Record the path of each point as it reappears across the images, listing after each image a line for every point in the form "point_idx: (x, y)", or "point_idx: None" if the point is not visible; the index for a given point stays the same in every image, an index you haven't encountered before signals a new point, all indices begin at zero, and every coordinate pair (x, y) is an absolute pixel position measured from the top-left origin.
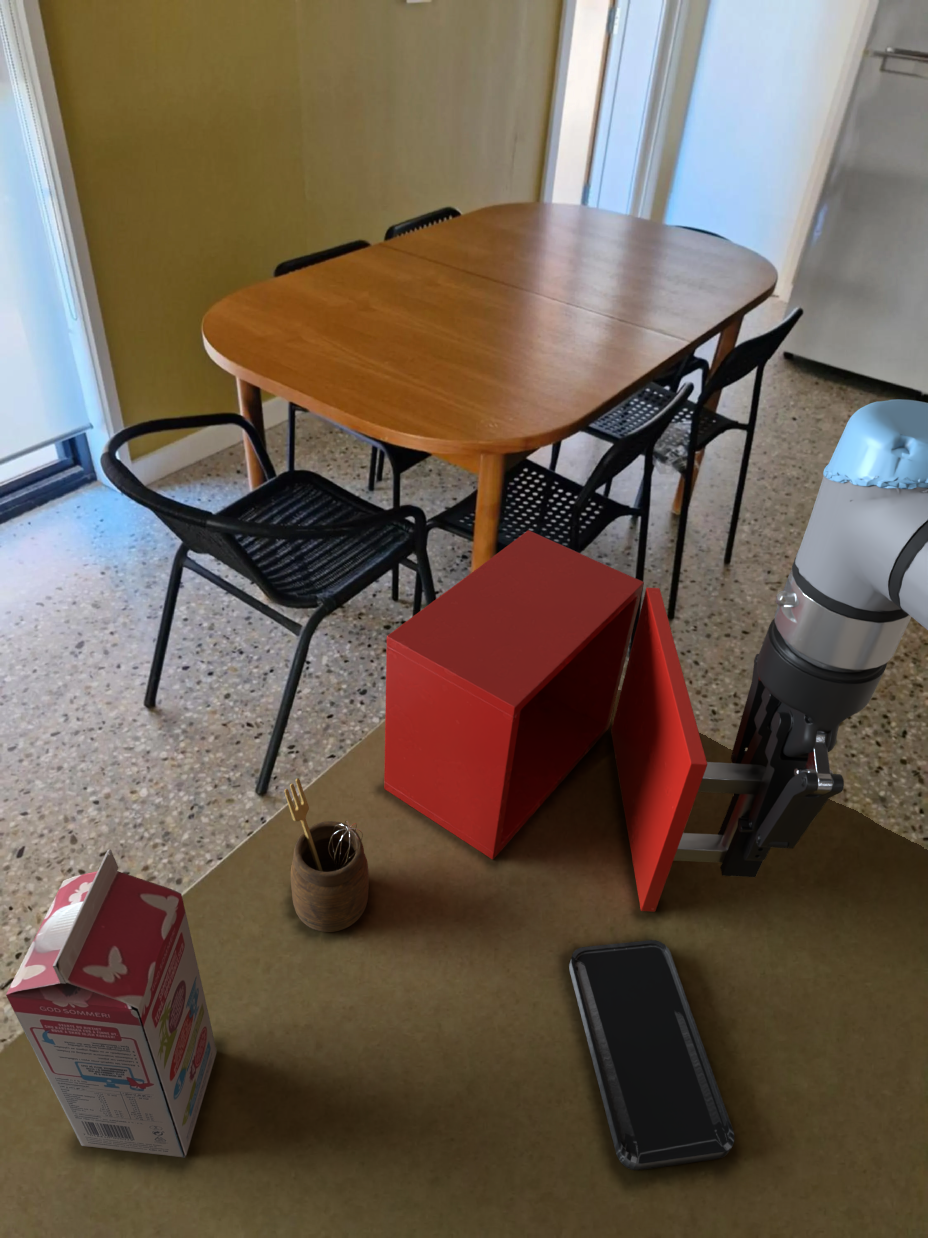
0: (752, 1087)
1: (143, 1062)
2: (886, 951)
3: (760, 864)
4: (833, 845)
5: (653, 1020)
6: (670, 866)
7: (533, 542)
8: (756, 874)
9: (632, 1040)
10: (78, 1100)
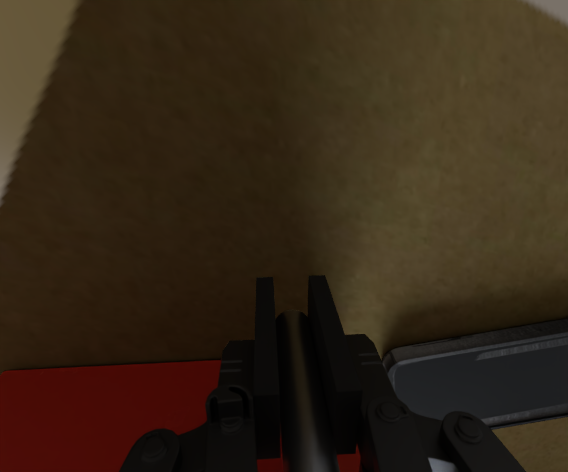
0: (555, 279)
1: None
2: (410, 18)
3: (331, 297)
4: (175, 45)
5: (480, 379)
6: (357, 446)
7: None
8: (326, 280)
9: (497, 398)
10: None
